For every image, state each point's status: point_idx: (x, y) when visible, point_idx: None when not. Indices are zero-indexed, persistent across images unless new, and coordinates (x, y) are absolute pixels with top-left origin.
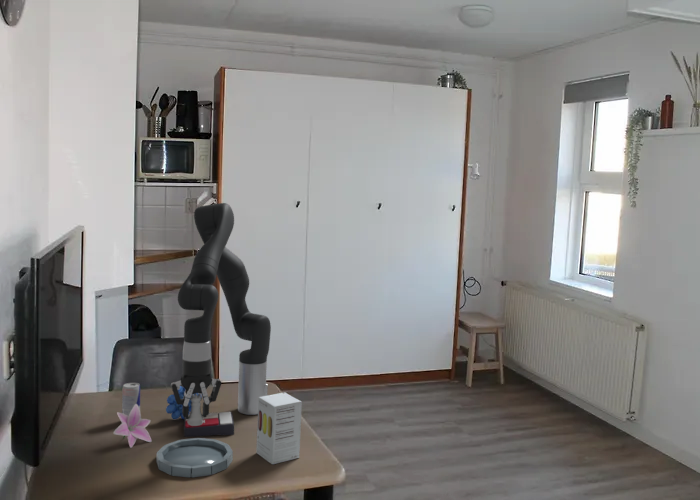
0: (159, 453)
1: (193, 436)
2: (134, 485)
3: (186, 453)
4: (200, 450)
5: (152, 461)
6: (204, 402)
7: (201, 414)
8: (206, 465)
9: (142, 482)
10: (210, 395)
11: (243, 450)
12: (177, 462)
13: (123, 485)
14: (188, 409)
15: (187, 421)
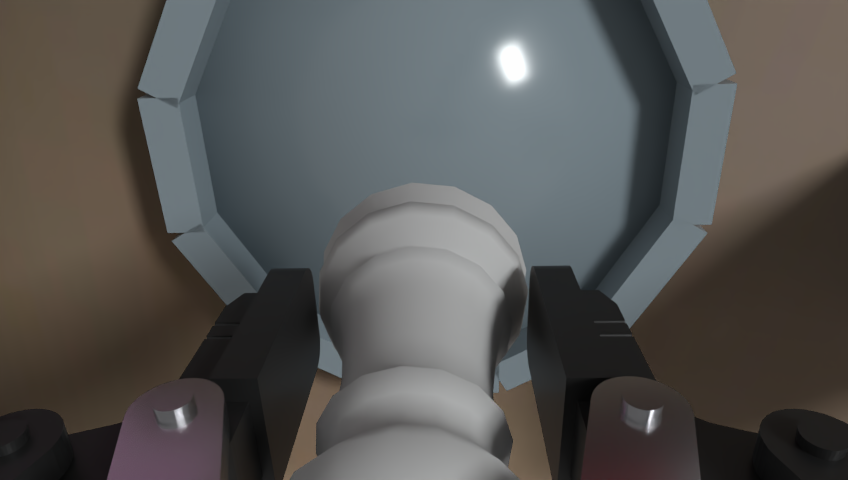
0: (160, 114)
1: None
2: (81, 363)
3: (381, 59)
4: (497, 28)
5: (139, 70)
6: (578, 477)
7: (500, 354)
8: None
9: (117, 342)
10: (794, 476)
11: (839, 45)
12: (306, 201)
13: (22, 349)
14: (288, 450)
15: (326, 253)
